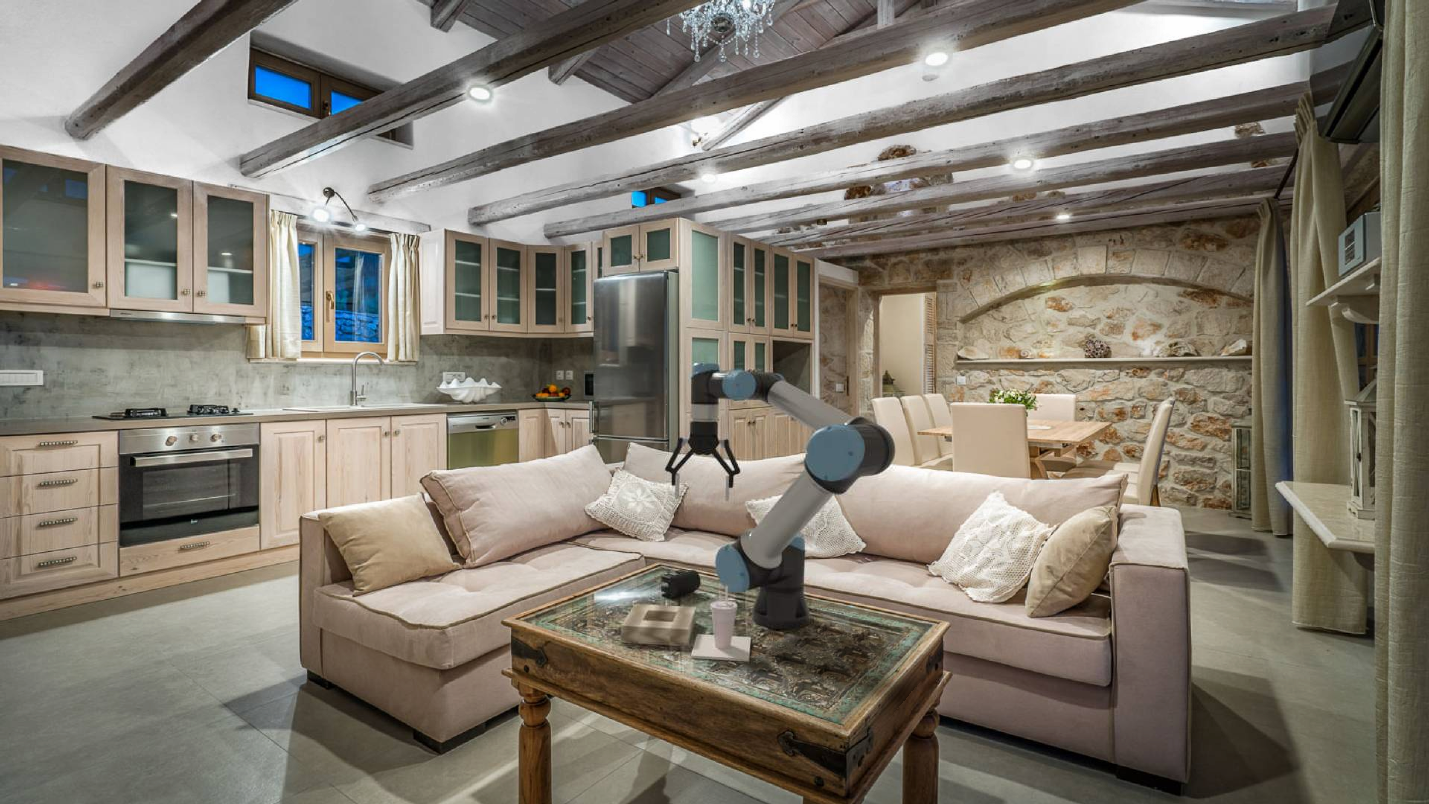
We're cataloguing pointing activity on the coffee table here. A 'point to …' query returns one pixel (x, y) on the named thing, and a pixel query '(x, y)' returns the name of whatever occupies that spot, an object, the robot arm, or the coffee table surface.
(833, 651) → the coffee table surface
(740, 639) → the tile
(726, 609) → the smoothie
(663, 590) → the end cap
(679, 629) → the frame
